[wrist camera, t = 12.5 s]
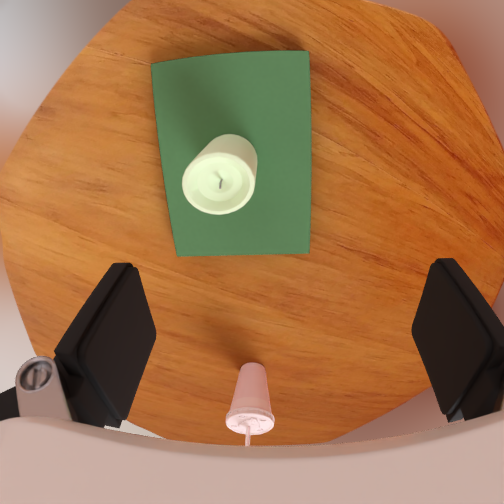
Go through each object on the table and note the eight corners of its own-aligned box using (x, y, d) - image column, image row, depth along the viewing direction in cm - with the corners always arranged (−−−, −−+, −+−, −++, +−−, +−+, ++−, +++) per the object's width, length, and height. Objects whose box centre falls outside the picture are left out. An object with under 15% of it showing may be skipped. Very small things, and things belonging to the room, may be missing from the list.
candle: (269, 162, 28) (269, 191, 21) (228, 196, 30) (216, 235, 23) (231, 122, 26) (218, 136, 19) (192, 158, 28) (166, 186, 21)
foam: (157, 64, 25) (150, 63, 24) (306, 52, 24) (309, 50, 23) (181, 247, 35) (176, 256, 33) (307, 244, 34) (309, 253, 33)
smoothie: (227, 377, 46) (217, 457, 34) (236, 352, 43) (227, 439, 31) (267, 385, 47) (265, 464, 35) (280, 361, 44) (281, 446, 32)
